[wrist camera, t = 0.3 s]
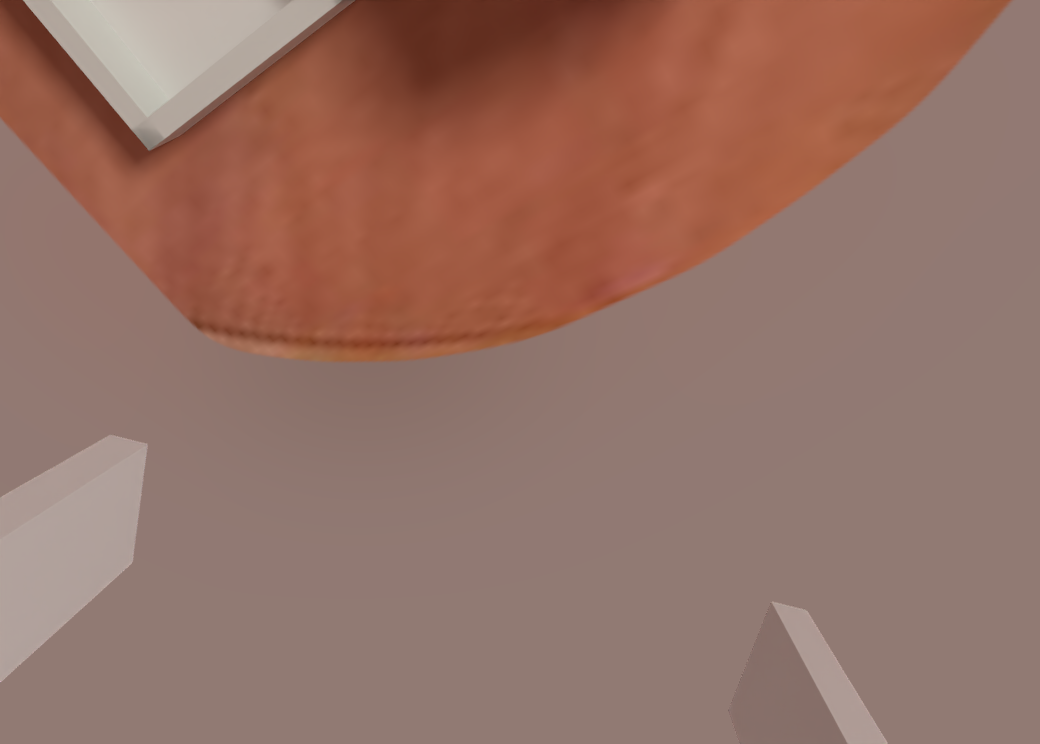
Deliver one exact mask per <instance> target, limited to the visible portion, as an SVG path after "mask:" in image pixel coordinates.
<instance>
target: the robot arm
mask: <svg viewBox="0 0 1040 744" xmlns="http://www.w3.org/2000/svg"><path fill="white" fill-rule="evenodd" d="M147 446H148V444H145V443H141V442H137V441H133V440H129V439H125V438H121V437H117V436H113V435H109V436H107V437H106V438H104V439H102V440H100V441H99V442H97V443H95V444H93V445H91V446H90V447H88V448H86V449H84V450H83V451H81V452H79V453H77V454H76V455H74V456H72V457H70V458H69V459H67V460H65V461H64V462H62V463H60V464H58V465H56V466H55V467H53V468H51V469H49V470H47V471H46V472H44V473H42V474H40V475H39V476H37V477H35V478H33V479H32V480H30V481H28V482H26V483H25V484H23V485H21V486H19V487H18V488H16V489H14V490H12V491H10V492H9V493H7V494H5V495H4V496H2V497H0V682H1V681H2V680H3V679H4V678H6V677H7V676H8V675H9V674H10V673H11V672H12V671H13V670H14V669H16V667H18V666H19V665H20V664H21V663H22V662H23V661H24V660H26V659H27V658H28V657H29V656H30V655H31V654H32V653H33V652H34V651H35V650H36V649H38V648H39V647H40V646H41V645H42V644H43V643H44V642H45V641H46V640H48V639H49V638H50V637H51V636H52V635H53V634H54V633H55V632H56V631H58V630H59V629H60V628H61V627H62V626H63V625H64V624H65V623H66V622H68V621H69V620H70V619H71V618H72V617H73V616H74V615H75V614H76V613H77V612H79V611H80V610H81V609H82V608H83V607H84V606H85V605H86V604H87V603H89V602H90V601H91V600H92V599H93V598H94V597H95V596H96V595H97V594H98V593H100V592H101V591H102V590H103V589H104V588H105V587H106V586H107V585H108V584H109V583H111V581H113V580H114V579H115V578H116V577H117V576H118V575H119V574H121V572H123V570H125V569H126V568H127V567H128V566H129V565H130V564H131V563H132V562H133V554H134V546H135V539H136V531H137V523H138V515H139V507H140V499H141V492H142V484H143V477H144V468H145V461H146V454H147ZM729 714H730V717H731V720H732V723H733V725H734V728H735V731H736V734H737V737H738V740H739V743H740V744H888V743H887V741H886V740H885V738H884V736H883V735H882V733H881V732H880V730H879V728H878V727H877V725H876V723H875V722H874V720H873V719H872V717H871V715H870V713H869V712H868V710H867V709H866V707H865V705H864V704H863V702H862V700H861V699H860V697H859V695H858V694H857V692H856V690H855V689H854V687H853V686H852V684H851V682H850V681H849V679H848V677H847V676H846V674H845V672H844V671H843V669H842V668H841V666H840V664H839V662H838V661H837V659H836V658H835V656H834V654H833V653H832V651H831V649H830V648H829V646H828V645H827V643H826V641H825V639H824V638H823V636H822V635H821V633H820V632H819V630H818V628H817V626H816V625H815V623H814V621H813V620H812V618H811V617H810V615H809V613H808V612H807V610H804V609H799V608H796V607H791V606H788V605H783V604H780V603H776V602H771V603H770V606H769V609H768V611H767V613H766V616H765V619H764V621H763V624H762V626H761V629H760V631H759V634H758V636H757V639H756V642H755V644H754V646H753V649H752V652H751V654H750V657H749V659H748V662H747V664H746V667H745V669H744V672H743V674H742V677H741V679H740V682H739V684H738V687H737V690H736V692H735V695H734V697H733V700H732V702H731V705H730V707H729Z"/></svg>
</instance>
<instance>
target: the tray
mask: <svg viewBox="0 0 1040 744" xmlns="http://www.w3.org/2000/svg"><path fill="white" fill-rule="evenodd" d="M23 1H24V2H25V3H26V5H27V6H28V7H29V8H30V9H31V10H32V12H33V13H34V14H35V15H36V16H37V18H38V19H39V20H40V21H41V22H42V24H43V25H44V26H45V27H46V28H47V30H48V31H49V32H50V33H51V34H52V36H53V37H54V38H55V39H56V40H57V42H58V43H59V44H60V45H61V46H62V47H63V49H64V50H65V51H66V52H67V53H68V55H69V56H70V57H71V58H72V59H73V61H74V62H75V63H76V64H77V65H78V67H79V68H80V69H81V70H82V71H83V73H84V74H85V75H86V76H87V77H88V79H89V80H90V81H91V82H92V83H93V84H94V86H95V87H96V88H97V89H98V90H99V92H100V93H101V94H102V95H103V96H104V98H105V99H106V100H107V101H108V102H109V104H110V105H111V106H112V107H113V108H114V110H115V111H116V112H117V113H118V114H119V116H120V117H121V118H122V119H123V120H124V121H125V123H126V124H127V125H128V126H129V127H130V129H131V130H132V131H133V132H134V133H135V135H136V136H137V137H138V138H139V139H140V141H141V142H142V143H143V144H144V145H145V147H146V148H147V149H148V150H149V151H150V150H152V149H154V148H156V147H158V146H160V145H162V144H164V143H167V142H169V141H171V140H173V139H175V138H177V137H179V136H180V135H182V134H183V133H184V132H186V131H187V130H188V129H189V128H191V127H192V126H193V125H195V124H196V123H197V122H199V121H200V120H201V119H202V118H204V117H205V116H206V115H208V114H209V113H210V112H211V111H213V110H214V109H215V108H217V107H218V106H219V105H221V104H222V103H223V102H224V101H226V100H227V99H228V98H230V97H231V96H232V95H233V94H235V93H236V92H237V91H239V90H240V89H241V88H243V87H244V86H245V85H246V84H248V83H249V82H250V81H252V80H253V79H254V78H255V77H257V76H258V75H259V74H261V73H262V72H263V71H265V70H266V69H267V68H268V67H270V66H271V65H272V64H274V63H275V62H276V61H277V60H279V59H280V58H281V57H283V56H284V55H285V54H287V53H288V52H289V51H290V50H292V49H293V48H294V47H296V46H297V45H298V44H299V43H301V42H302V41H303V40H305V39H306V38H307V37H309V36H310V35H311V34H312V33H314V32H315V31H316V30H318V29H319V28H320V27H321V26H323V25H324V24H325V23H327V22H328V21H329V20H331V19H332V18H333V17H334V16H336V15H337V14H338V13H340V12H341V11H342V10H343V9H345V8H346V7H347V6H349V5H350V4H351V3H353V2H354V1H355V0H23Z"/></svg>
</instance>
